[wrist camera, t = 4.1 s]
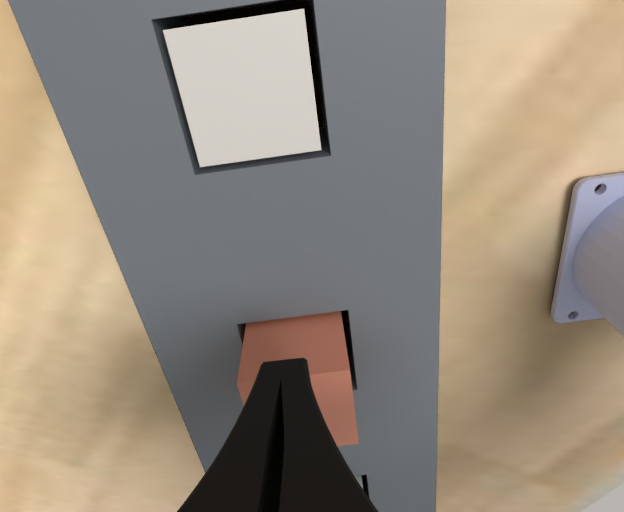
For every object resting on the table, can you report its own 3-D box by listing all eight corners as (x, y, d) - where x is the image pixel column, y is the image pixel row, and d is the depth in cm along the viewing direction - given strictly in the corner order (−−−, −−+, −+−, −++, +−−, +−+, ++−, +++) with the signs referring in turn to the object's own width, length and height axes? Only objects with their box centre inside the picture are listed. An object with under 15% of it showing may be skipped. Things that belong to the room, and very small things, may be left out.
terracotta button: (339, 302, 18) (350, 369, 15) (347, 369, 20) (358, 443, 17) (247, 314, 19) (236, 384, 15) (264, 380, 21) (258, 455, 17)
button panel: (410, -116, 14) (449, -158, 10) (418, 478, 30) (434, 540, 26) (52, -58, 14) (-26, -80, 11) (248, 497, 30) (242, 560, 27)
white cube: (301, 8, 15) (304, 8, 12) (316, 122, 17) (321, 150, 14) (192, 25, 16) (162, 30, 12) (218, 136, 17) (200, 167, 14)
